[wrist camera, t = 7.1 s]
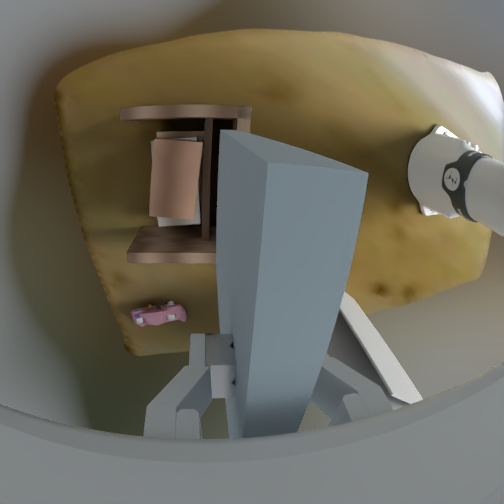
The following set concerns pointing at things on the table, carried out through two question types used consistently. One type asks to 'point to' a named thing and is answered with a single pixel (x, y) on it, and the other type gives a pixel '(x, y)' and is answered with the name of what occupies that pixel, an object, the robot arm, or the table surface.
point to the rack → (202, 237)
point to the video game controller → (159, 314)
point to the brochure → (369, 354)
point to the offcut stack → (177, 177)
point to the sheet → (280, 272)
